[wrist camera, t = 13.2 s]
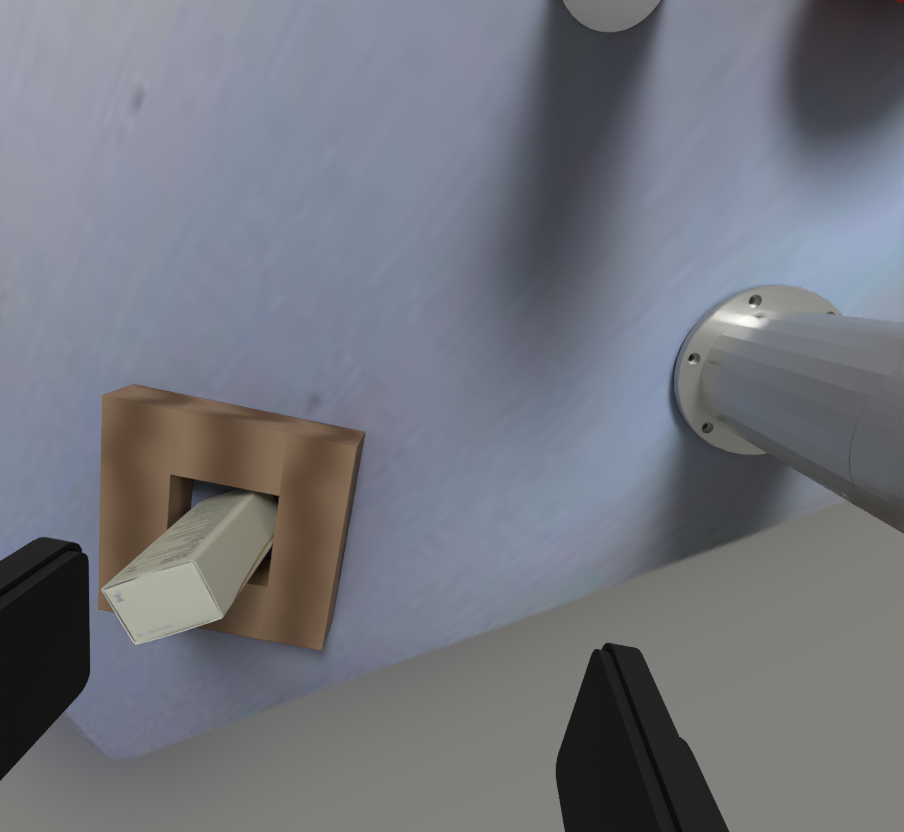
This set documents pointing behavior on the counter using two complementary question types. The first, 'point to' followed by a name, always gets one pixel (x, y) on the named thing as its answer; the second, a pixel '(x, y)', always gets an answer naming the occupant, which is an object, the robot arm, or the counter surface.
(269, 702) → the counter surface
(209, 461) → the docking block
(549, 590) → the counter surface
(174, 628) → the skincare box
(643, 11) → the cylindrical container
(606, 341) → the counter surface
